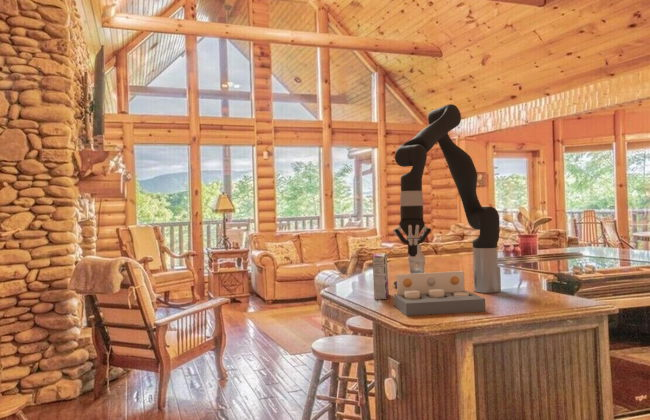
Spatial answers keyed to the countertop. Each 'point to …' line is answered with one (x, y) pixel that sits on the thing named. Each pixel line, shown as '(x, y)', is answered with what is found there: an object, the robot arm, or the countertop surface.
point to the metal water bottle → (417, 262)
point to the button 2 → (460, 294)
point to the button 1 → (412, 294)
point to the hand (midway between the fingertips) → (412, 256)
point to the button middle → (436, 293)
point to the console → (443, 305)
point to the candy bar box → (380, 276)
